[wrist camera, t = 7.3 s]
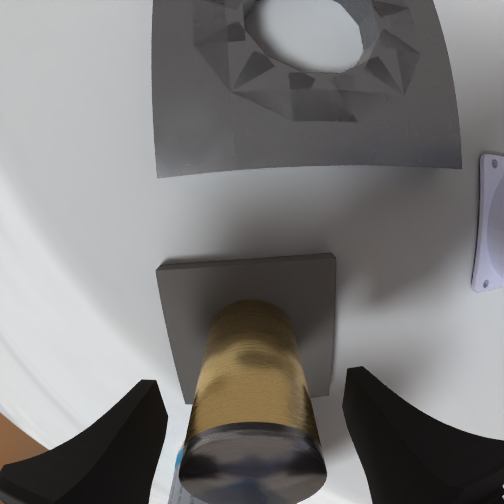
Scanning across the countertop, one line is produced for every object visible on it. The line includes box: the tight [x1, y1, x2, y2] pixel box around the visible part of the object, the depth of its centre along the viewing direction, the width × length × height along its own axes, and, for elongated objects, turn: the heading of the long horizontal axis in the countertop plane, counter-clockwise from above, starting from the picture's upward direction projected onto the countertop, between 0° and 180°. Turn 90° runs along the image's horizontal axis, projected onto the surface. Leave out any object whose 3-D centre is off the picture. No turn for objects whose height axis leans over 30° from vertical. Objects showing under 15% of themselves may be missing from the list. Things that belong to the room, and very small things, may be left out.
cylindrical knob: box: [178, 300, 327, 504], centre depth 10 cm, size 4×4×8 cm
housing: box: [152, 0, 462, 178], centre depth 10 cm, size 13×13×2 cm
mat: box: [156, 253, 336, 404], centre depth 15 cm, size 8×8×1 cm
